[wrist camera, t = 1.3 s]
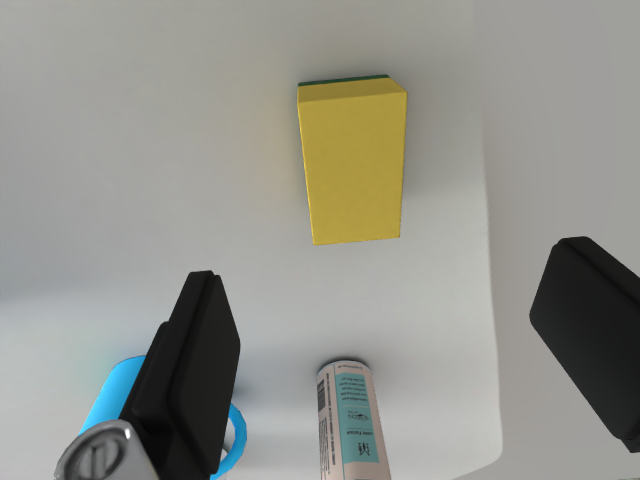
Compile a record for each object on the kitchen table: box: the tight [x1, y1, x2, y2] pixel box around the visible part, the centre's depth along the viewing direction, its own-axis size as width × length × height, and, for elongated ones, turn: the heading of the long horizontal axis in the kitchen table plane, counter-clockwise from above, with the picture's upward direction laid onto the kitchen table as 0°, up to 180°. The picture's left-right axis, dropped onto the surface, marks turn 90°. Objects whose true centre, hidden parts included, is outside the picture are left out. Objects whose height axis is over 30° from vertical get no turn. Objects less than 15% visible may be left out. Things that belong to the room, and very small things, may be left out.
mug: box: [78, 356, 247, 480], centre depth 27 cm, size 12×8×8 cm
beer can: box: [316, 360, 391, 480], centre depth 25 cm, size 5×5×12 cm
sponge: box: [297, 75, 408, 245], centre depth 17 cm, size 7×4×4 cm, turn 5°
